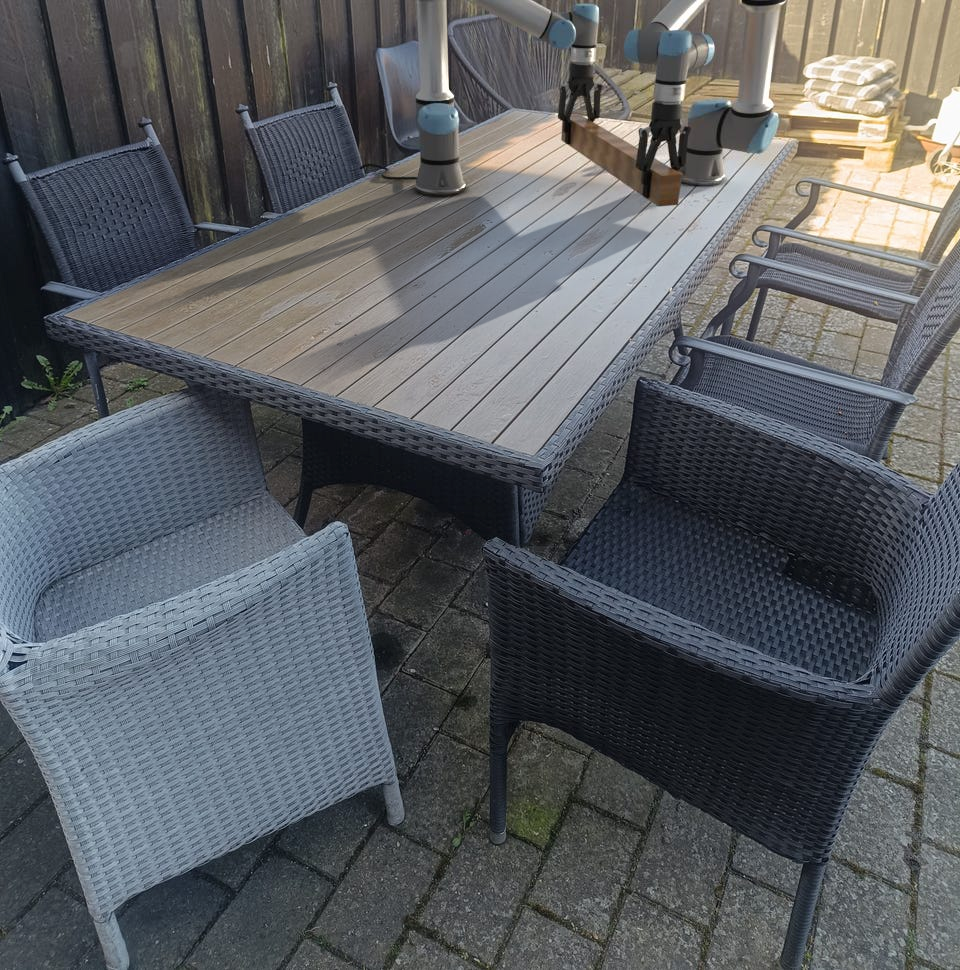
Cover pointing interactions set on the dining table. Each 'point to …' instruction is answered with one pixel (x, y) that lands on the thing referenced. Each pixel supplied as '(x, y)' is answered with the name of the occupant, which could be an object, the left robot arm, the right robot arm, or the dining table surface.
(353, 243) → the dining table surface
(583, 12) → the left robot arm
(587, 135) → the beam
